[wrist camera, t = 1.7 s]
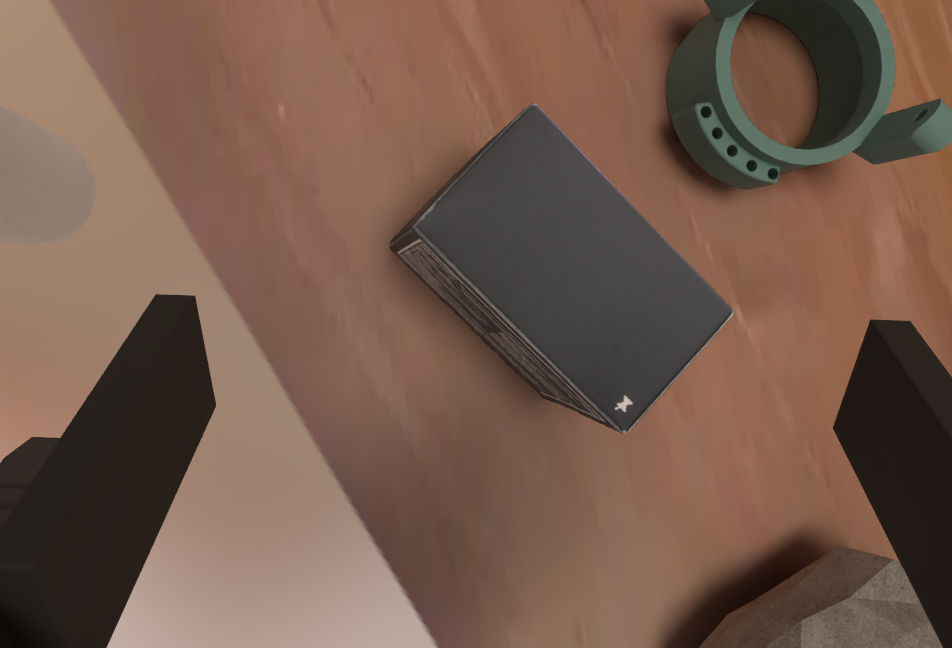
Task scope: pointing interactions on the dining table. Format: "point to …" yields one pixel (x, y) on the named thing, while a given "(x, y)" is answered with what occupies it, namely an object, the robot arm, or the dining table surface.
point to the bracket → (840, 99)
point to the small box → (562, 274)
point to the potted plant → (833, 609)
